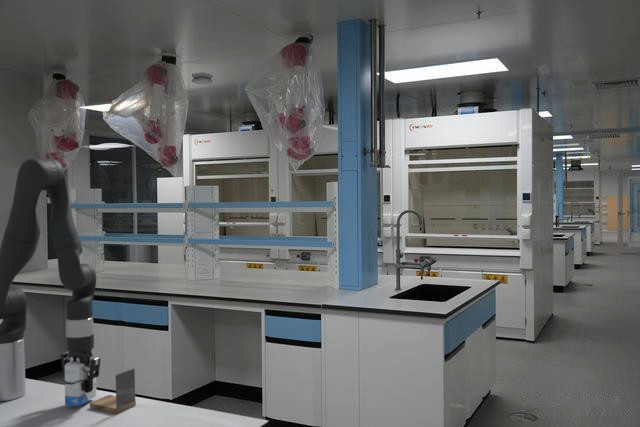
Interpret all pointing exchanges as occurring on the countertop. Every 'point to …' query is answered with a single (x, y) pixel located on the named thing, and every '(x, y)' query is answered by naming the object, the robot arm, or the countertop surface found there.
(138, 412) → the countertop surface
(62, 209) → the robot arm
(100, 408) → the wooden base bookend
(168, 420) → the countertop surface
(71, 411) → the countertop surface
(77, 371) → the ink box
